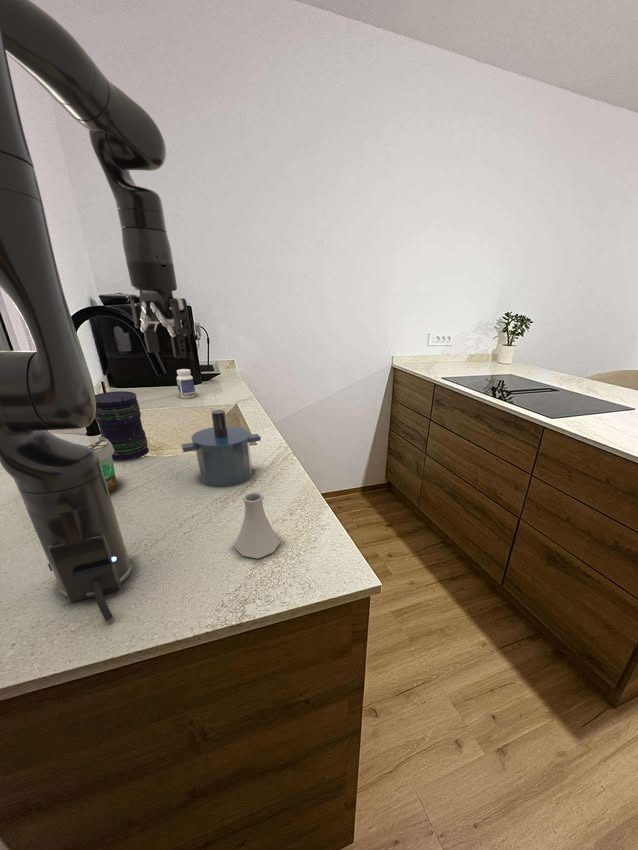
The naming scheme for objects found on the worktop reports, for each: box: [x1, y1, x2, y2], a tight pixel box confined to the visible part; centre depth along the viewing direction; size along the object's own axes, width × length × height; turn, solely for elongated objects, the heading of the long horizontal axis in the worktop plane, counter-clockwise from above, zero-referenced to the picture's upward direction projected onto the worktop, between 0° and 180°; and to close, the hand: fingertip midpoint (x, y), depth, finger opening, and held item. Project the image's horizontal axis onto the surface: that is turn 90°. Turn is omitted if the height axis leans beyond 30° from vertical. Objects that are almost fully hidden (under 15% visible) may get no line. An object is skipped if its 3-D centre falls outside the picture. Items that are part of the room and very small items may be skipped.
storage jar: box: [94, 390, 150, 462], centre depth 96 cm, size 10×10×15 cm
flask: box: [234, 491, 281, 560], centre depth 65 cm, size 7×7×10 cm
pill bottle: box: [176, 368, 196, 399], centre depth 146 cm, size 6×6×10 cm
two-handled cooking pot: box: [181, 433, 261, 488], centre depth 89 cm, size 11×17×10 cm
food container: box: [85, 436, 118, 494], centre depth 80 cm, size 12×6×10 cm, turn 168°
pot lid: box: [191, 409, 251, 448], centre depth 85 cm, size 12×12×7 cm
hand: (167, 354), depth 76 cm, fingers open, 8 cm apart
